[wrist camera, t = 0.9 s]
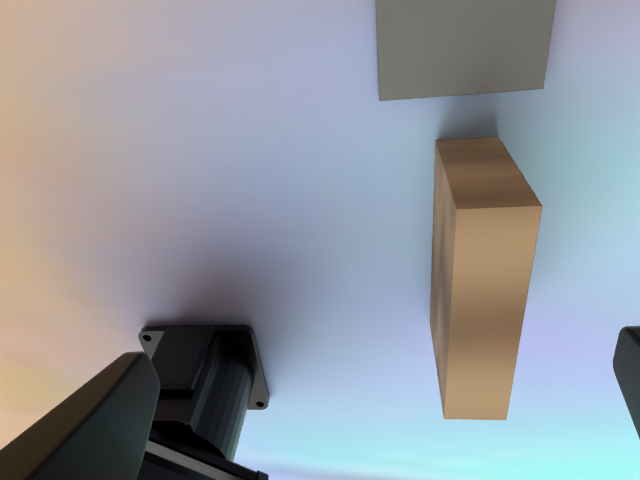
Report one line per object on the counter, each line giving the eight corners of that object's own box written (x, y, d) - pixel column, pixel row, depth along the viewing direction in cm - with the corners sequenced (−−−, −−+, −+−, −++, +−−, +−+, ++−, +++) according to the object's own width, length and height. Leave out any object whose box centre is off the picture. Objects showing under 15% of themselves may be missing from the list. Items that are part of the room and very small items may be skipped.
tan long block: (478, 321, 25) (506, 419, 19) (429, 321, 25) (444, 419, 20) (497, 136, 19) (542, 205, 14) (435, 139, 20) (456, 209, 15)
